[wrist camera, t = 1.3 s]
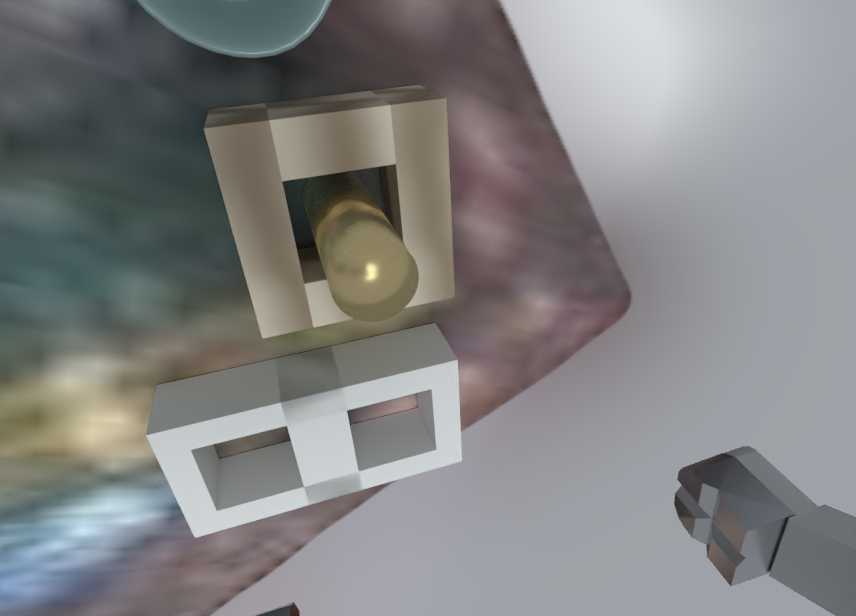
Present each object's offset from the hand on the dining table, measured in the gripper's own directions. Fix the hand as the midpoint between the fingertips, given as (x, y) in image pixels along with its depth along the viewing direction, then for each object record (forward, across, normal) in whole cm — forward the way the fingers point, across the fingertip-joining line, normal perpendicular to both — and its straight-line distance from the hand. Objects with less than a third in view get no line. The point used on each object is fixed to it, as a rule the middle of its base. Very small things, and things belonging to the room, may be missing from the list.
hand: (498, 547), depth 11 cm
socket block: (+26, +1, +1) cm, 26 cm away
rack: (+26, +6, +17) cm, 32 cm away
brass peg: (+26, +1, +1) cm, 26 cm away
